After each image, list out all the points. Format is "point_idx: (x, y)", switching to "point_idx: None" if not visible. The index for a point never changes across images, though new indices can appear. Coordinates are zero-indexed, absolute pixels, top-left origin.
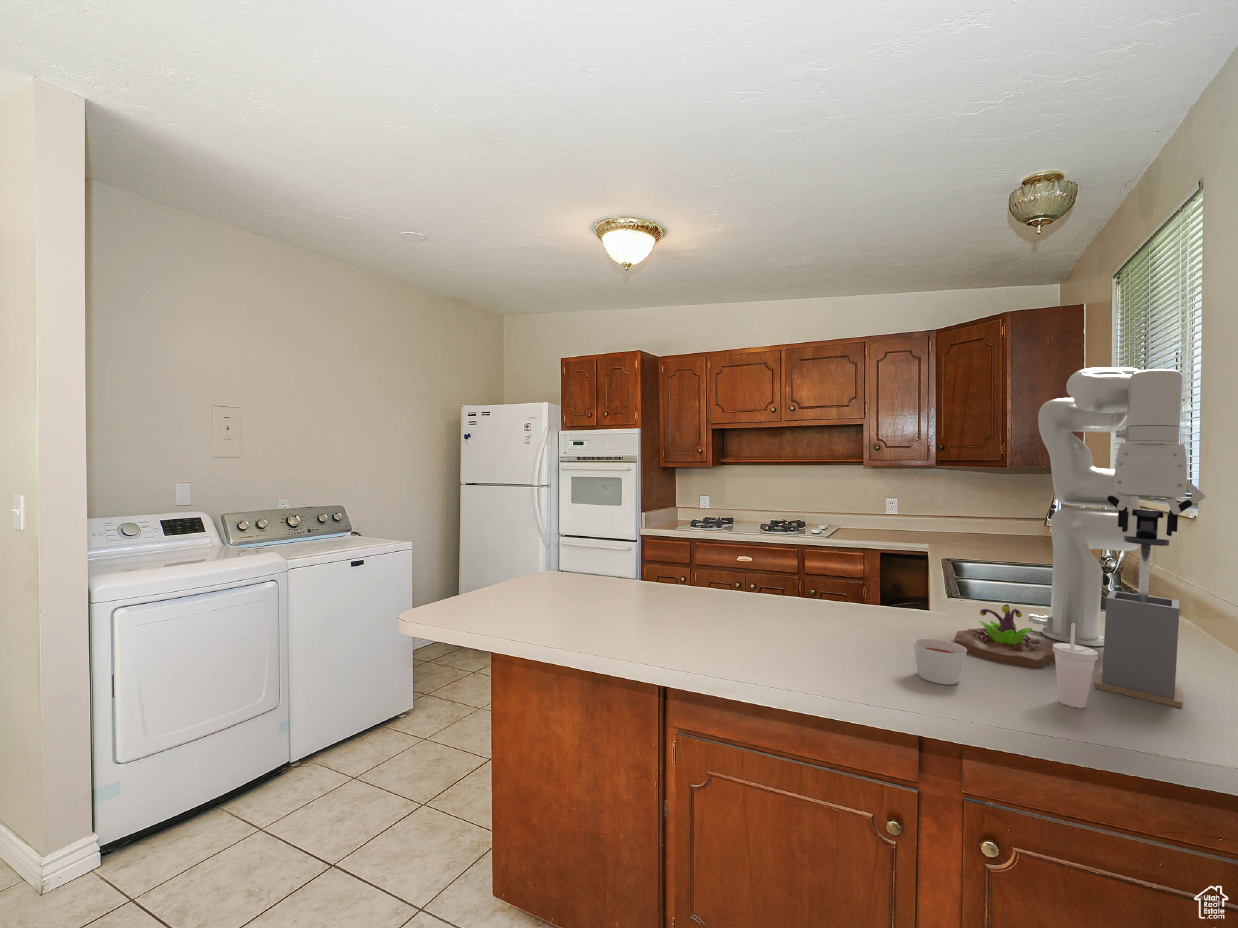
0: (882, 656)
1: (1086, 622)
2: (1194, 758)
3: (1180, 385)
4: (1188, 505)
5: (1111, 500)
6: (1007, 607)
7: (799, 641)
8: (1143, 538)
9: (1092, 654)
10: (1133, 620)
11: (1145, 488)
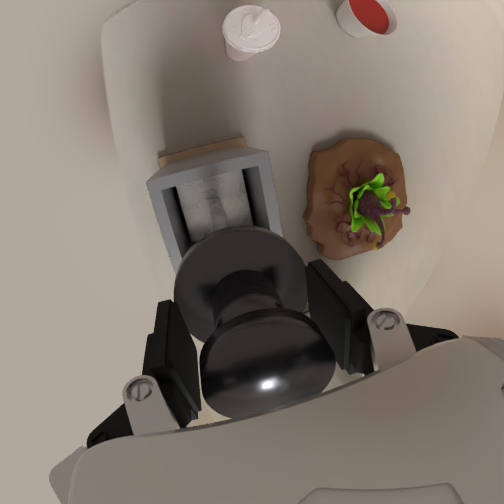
0: (411, 52)
1: None
2: (121, 14)
3: None
4: (100, 432)
5: (437, 336)
6: (390, 196)
7: (456, 47)
8: (240, 253)
9: (226, 16)
10: (216, 158)
11: (333, 455)
